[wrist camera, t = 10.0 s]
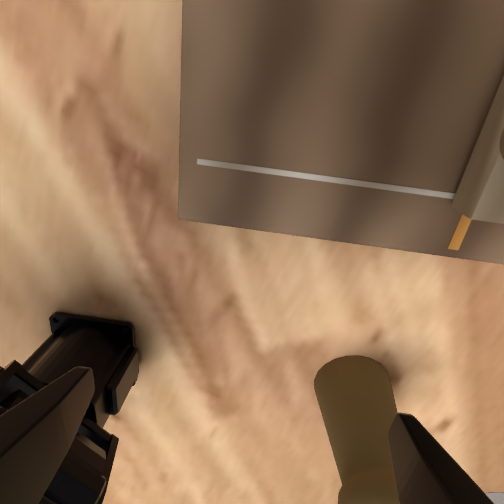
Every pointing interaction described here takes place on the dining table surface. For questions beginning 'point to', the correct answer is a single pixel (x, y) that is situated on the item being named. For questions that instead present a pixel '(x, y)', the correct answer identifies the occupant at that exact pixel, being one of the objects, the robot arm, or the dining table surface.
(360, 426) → the cork
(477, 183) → the lever handle
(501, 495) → the french press
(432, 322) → the dining table surface
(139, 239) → the dining table surface
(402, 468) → the robot arm
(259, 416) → the dining table surface
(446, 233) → the board
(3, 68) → the dining table surface
